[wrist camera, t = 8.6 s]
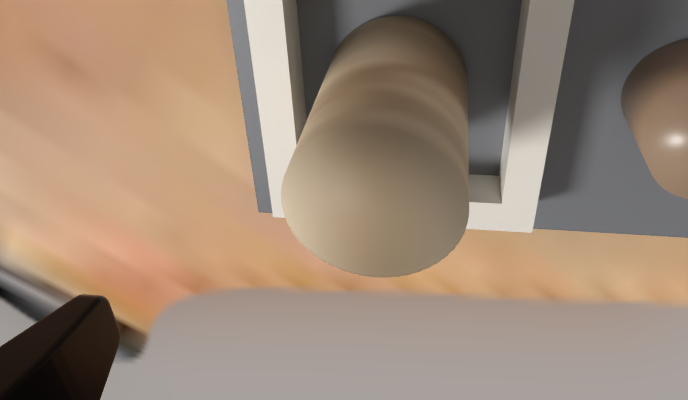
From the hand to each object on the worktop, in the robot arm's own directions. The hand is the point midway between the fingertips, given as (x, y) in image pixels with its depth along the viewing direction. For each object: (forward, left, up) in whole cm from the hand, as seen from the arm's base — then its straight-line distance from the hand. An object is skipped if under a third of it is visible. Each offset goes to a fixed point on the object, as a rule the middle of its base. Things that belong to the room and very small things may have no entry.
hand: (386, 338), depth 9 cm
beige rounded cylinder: (+1, +1, -10) cm, 10 cm away
